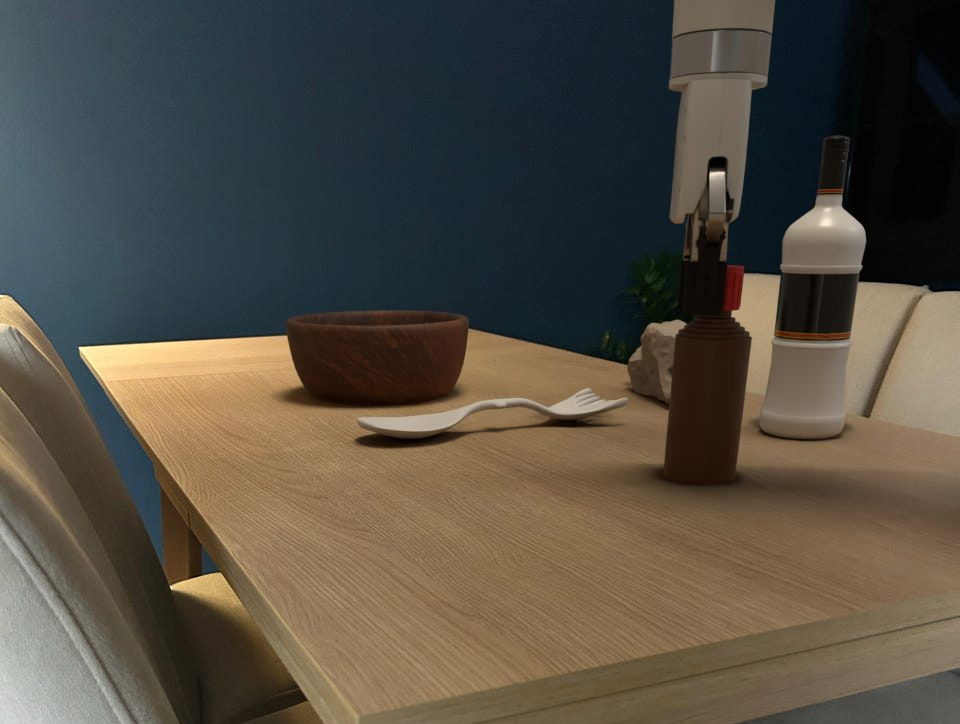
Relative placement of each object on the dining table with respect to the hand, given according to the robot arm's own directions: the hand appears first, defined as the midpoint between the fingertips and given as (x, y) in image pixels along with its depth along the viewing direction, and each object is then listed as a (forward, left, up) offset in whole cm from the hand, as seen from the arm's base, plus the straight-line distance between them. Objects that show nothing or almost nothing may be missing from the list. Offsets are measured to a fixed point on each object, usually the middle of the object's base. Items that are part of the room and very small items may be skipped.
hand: (699, 309), depth 82 cm
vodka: (-14, -26, -15) cm, 33 cm away
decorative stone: (0, -48, -15) cm, 50 cm away
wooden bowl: (+40, -47, -15) cm, 64 cm away
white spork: (+21, -23, -15) cm, 35 cm away
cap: (-1, 0, 0) cm, 1 cm away
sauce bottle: (-1, 0, -15) cm, 15 cm away
